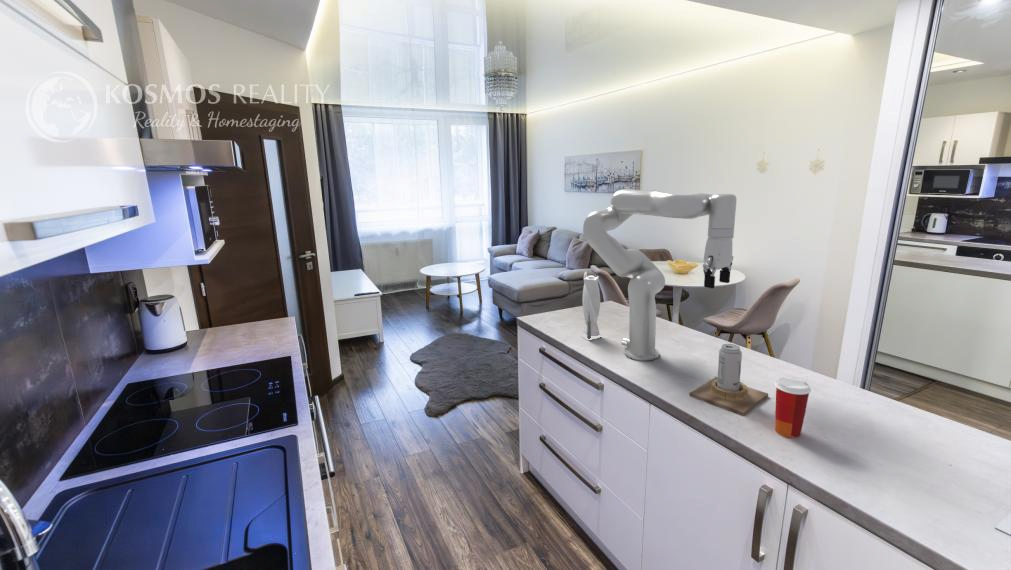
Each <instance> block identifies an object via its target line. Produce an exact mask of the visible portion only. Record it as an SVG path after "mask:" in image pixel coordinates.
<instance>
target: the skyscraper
mask: <svg viewBox="0 0 1011 570" xmlns="http://www.w3.org/2000/svg"><path fill="white" fill-rule="evenodd" d="M599 278H600V277H599V275H597V276H595V275H588V271H585V272H584V274H583V283H584V284H583V287H582V298H581V299H582V310H583V311H582V312H583V317H584V321H585V323H584V327H583V331H582V334H583V333H585V334H586V335H587V338H588V339H590V338H591V336H598V335H600V336H601V333H600V330H599V326H598V317H599V314H600V308H601V293H600V287H599V282H598V281H599Z"/></svg>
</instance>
